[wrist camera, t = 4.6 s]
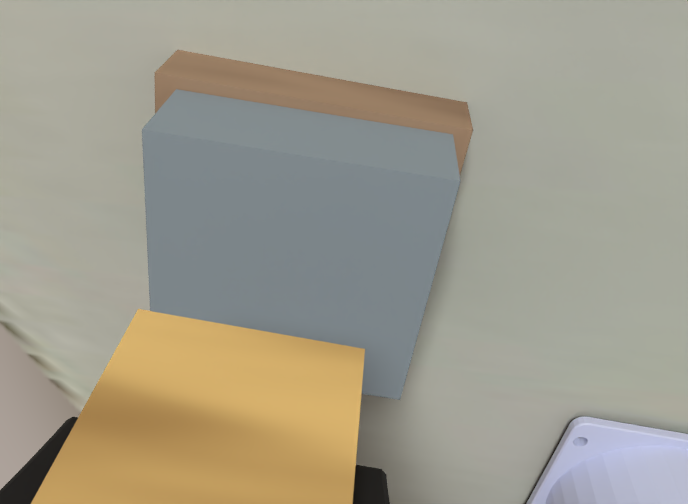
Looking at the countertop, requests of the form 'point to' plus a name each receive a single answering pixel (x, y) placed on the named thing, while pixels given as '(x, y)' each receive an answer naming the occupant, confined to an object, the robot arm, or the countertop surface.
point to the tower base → (313, 94)
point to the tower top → (297, 224)
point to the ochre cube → (214, 420)
